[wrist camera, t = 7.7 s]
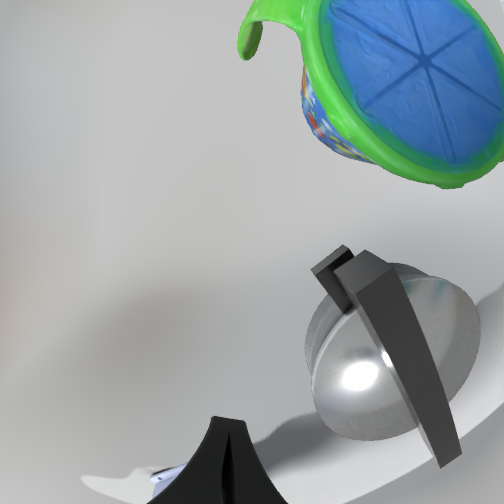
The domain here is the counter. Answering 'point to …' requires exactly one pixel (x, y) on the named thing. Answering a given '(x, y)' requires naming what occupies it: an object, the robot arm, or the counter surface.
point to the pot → (336, 299)
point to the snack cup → (397, 82)
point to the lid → (396, 357)
